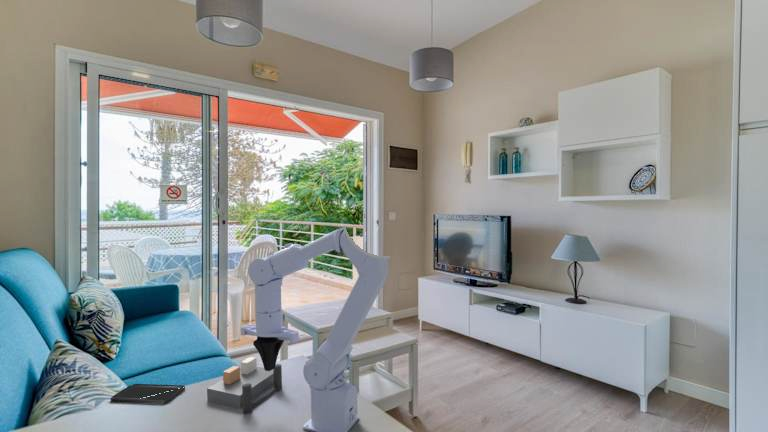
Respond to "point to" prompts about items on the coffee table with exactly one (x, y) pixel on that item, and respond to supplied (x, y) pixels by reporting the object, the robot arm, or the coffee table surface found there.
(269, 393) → the dark grey post rail
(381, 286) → the robot arm
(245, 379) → the grey tray with posts
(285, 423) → the coffee table surface
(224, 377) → the orange rectangular block
